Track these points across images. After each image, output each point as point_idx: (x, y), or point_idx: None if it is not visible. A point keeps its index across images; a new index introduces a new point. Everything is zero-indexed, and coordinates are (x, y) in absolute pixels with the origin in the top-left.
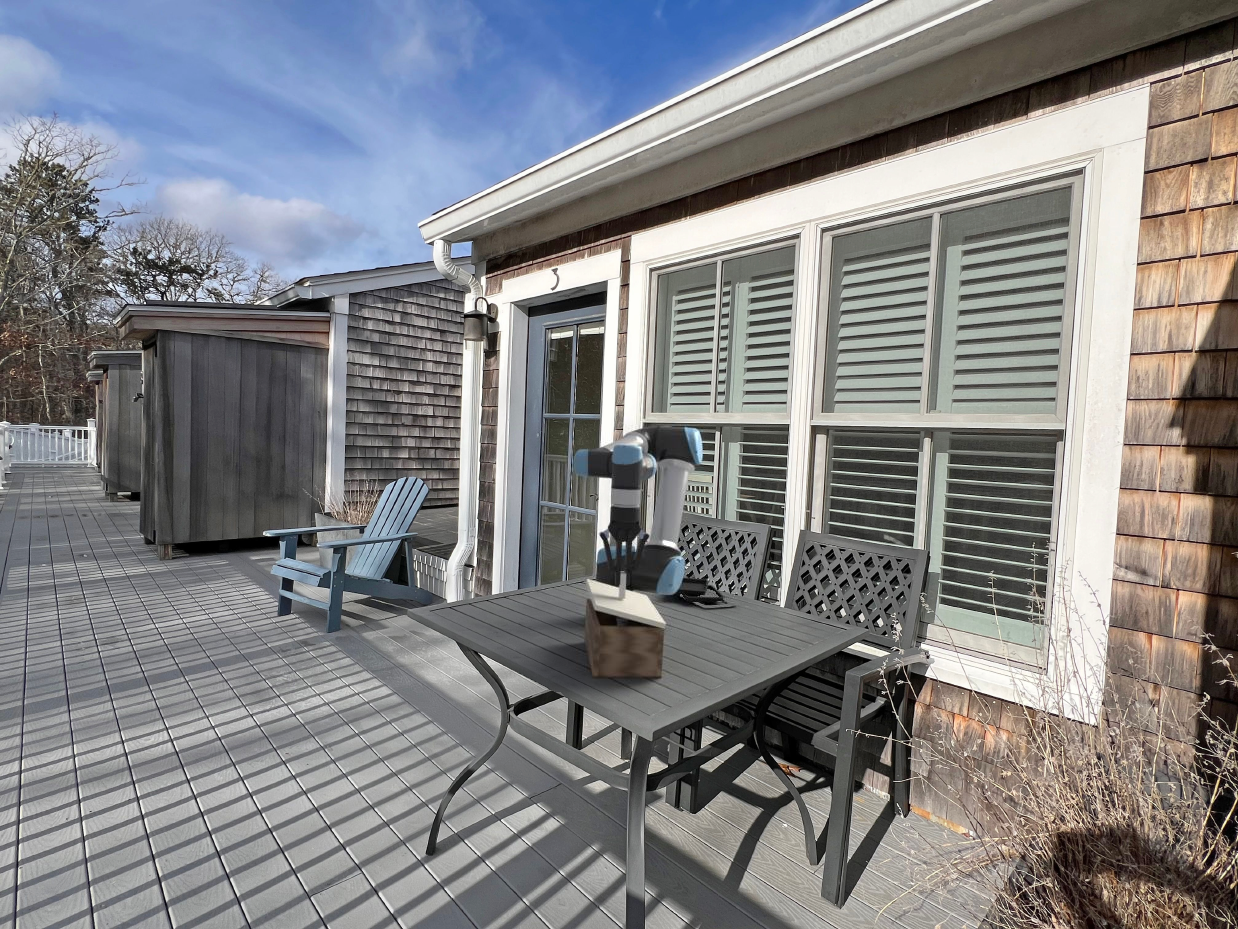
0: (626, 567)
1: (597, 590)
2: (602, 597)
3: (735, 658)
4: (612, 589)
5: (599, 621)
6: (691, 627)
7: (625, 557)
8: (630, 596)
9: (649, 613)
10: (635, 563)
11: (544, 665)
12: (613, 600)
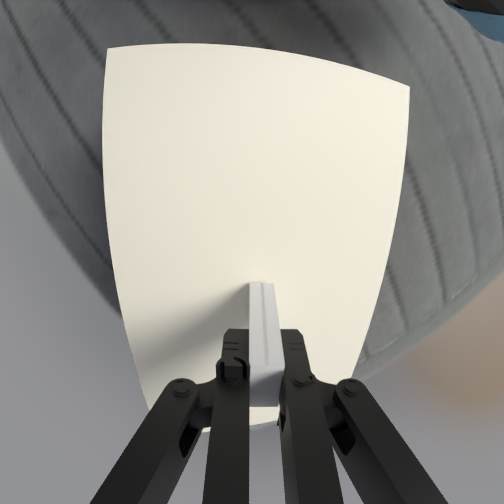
0: (281, 432)
1: (148, 267)
2: (172, 358)
3: (474, 230)
4: (244, 137)
5: None
6: (462, 33)
7: (291, 457)
8: (324, 192)
9: (326, 368)
10: (340, 448)
11: (99, 257)
12: (216, 354)
